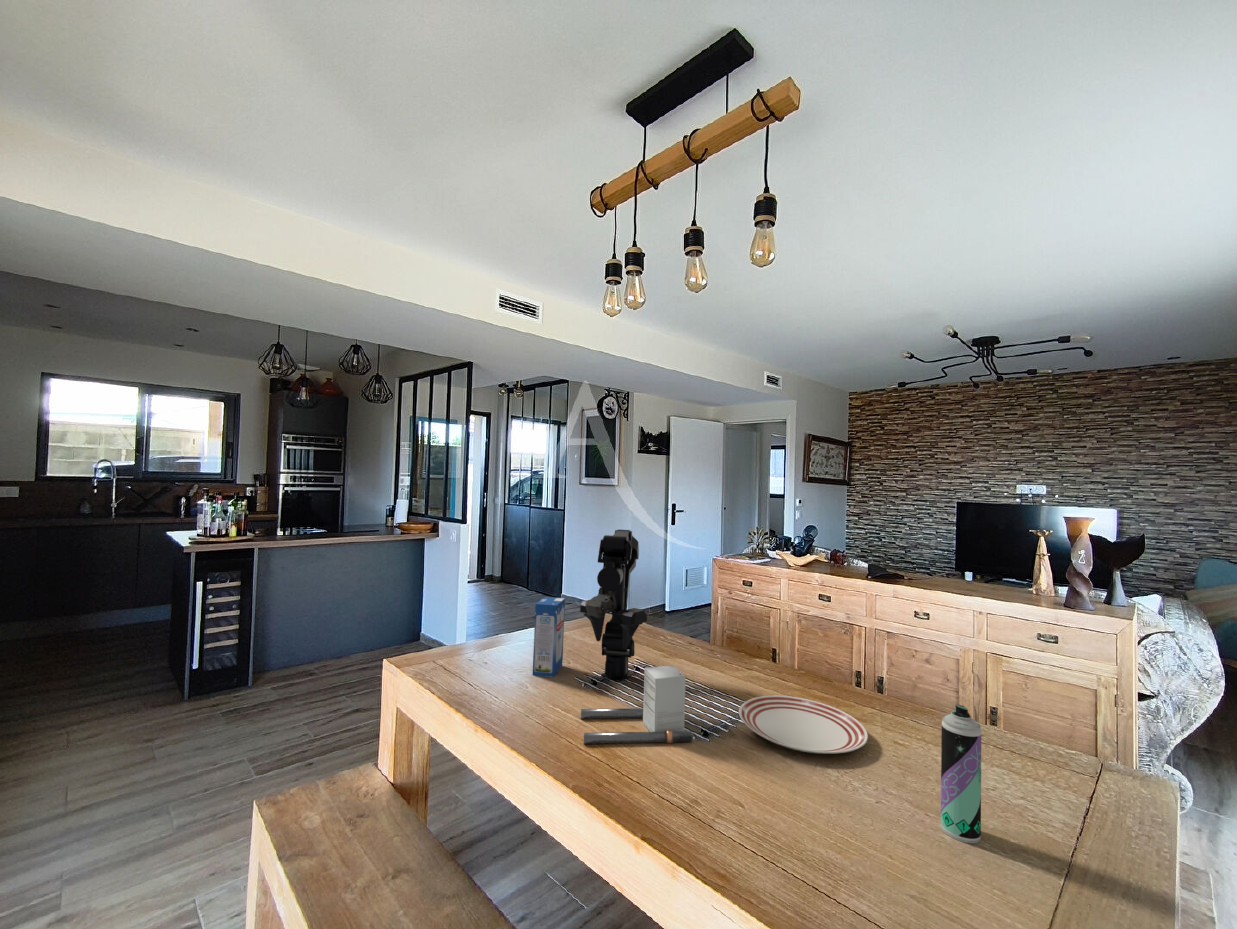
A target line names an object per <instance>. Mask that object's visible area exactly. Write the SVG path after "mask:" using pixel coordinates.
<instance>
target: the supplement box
mask: <svg viewBox="0 0 1237 929" xmlns="http://www.w3.org/2000/svg"><path fill="white" fill-rule="evenodd" d="M643 672H644V675H643V677H644V679H643V707H642V708H643V718H642V723H643V724H644V725H645V727H646V728H647V730H648V732H665V731H666V730H672V731H685V716H686V715H685V712H686V710H685V707H686V678H687V677H686V675H685V674H684V673H682V672H681V671H680V670H679V669H678V668H677V667H675V666H673V665H665V666H664V665H662V666H661V665H660V666H651V667H650V666H649V667H644V670H643Z"/></svg>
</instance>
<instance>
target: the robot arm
mask: <svg viewBox="0 0 1237 929" xmlns="http://www.w3.org/2000/svg"><path fill="white" fill-rule="evenodd" d="M639 556H640V545H639V541H638V540H637V539H636V538H635V537H634V535H633V531H632V530H630V529H615V530H614V534H612V535H611V534H610V535H609V534H608V535H606V534H605V535H604V536H603V538H602V539H600V543H599V549H598V556H597V563H598V564H603V566H602V568H601V569H600V570H599V572H598V574H597V577H596V580H597V584H598V586H599V589H598V594H597V595H595V596H593V597H592V598H590V599H588V600H586V599H585V600H582V602H581V604H580V606H579V609H580V610H579V612H580V613H583V616H584V617H586V618H587V619H588V620H589V621H590V624H591V626H592V630H593V633H594V636H595V640H596V642H601V656H605V662H604V672H602V673H601V676H602V677H604V678H606V679H609V680H611V681H615V682H620V681H623V680H626V679H628V678H632V677H633V674H632V673H629V658H630V659H631V658H632V657H635V653H636V652H635V650H636V649H635V648H636V647H635V640H634V638H633V637H634V635H635V632H636V631H637V629H638V628H639V626H640V625H643V623H645V622H646V623H647V622H648V612H647V611H646V610H645V609H642V608H637V607H632V608H628V604H629V603H628V602H629V590H630V582H631V581H630V578H631V573H632V572H633V571H634V570H635V568H636V567H637V560H639ZM606 614H607V615H611V618H610V620H608V621H607V622H606V624H605V618H606V617H605V616H606ZM604 624H605V628H604ZM603 629H604V633H603Z"/></svg>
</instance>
